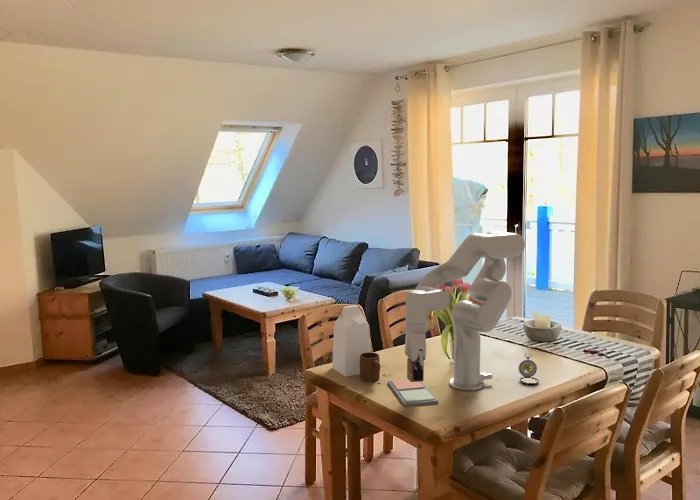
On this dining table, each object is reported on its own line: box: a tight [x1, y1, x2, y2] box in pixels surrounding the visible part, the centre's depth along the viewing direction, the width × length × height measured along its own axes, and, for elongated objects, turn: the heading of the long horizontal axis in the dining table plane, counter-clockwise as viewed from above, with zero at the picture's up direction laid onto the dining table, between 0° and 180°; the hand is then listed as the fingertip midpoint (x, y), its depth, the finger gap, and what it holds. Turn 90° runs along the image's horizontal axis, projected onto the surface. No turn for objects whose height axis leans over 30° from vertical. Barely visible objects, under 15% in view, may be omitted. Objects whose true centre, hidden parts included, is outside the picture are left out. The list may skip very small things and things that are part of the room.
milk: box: [331, 304, 372, 377], centre depth 235 cm, size 12×12×26 cm
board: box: [387, 378, 439, 407], centre depth 211 cm, size 12×22×1 cm, turn 11°
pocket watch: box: [518, 352, 540, 385], centre depth 220 cm, size 8×8×10 cm
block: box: [406, 357, 425, 382], centre depth 204 cm, size 4×4×7 cm
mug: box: [359, 351, 381, 383], centre depth 223 cm, size 12×8×9 cm, turn 23°
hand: (415, 376), depth 205 cm, fingers closed on block, 4 cm apart
